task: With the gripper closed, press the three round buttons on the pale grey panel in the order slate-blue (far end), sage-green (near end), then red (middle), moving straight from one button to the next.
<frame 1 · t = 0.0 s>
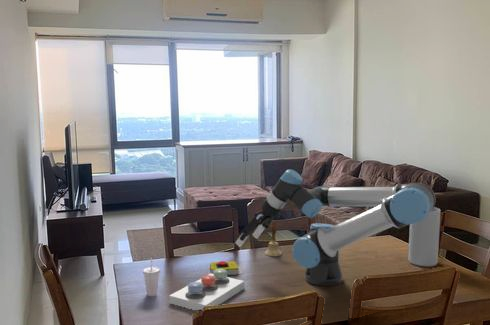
hand: (246, 240, 196), 15 cm above the table, tool tilted 35°, fingers open, 13 cm apart
emergency button: (224, 272, 204), on the table
hand bell: (273, 254, 228), on the table
slate-blue button: (195, 287, 171), point 6 cm above the table, slide at 0.0 cm
smoothie: (152, 294, 180), on the table
cylinder vase: (422, 262, 216), on the table
button panel: (208, 295, 178), on the table
sage-green button: (220, 274, 185), point 6 cm above the table, slide at 0.0 cm
red button: (208, 280, 178), point 6 cm above the table, slide at 0.0 cm
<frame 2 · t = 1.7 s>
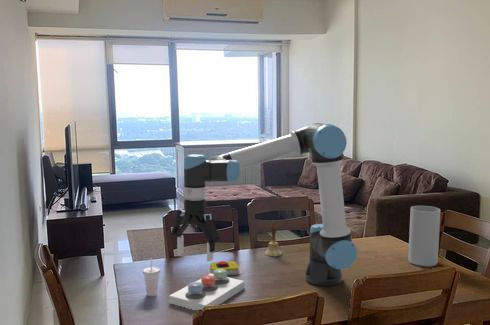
hand: (194, 257, 170), 17 cm above the table, tool pointing down, fingers open, 12 cm apart
nothing on the table moved.
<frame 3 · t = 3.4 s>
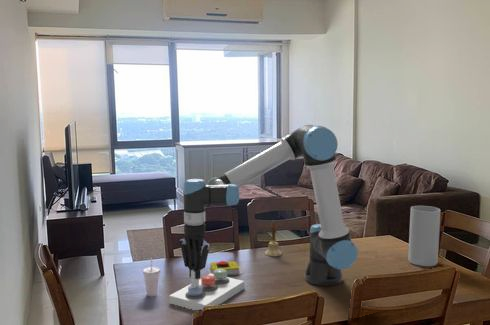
hand: (194, 286, 171), 6 cm above the table, tool pointing down, fingers closed
slate-blue button: (195, 290, 171), point 5 cm above the table, slide at 1.0 cm, touching gripper
everything else where it was.
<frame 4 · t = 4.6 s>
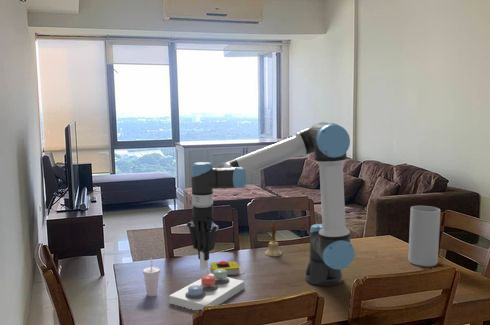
hand: (203, 268, 174), 12 cm above the table, tool pointing down, fingers closed
slate-blue button: (195, 290, 171), point 5 cm above the table, slide at 1.2 cm
everything else where it was.
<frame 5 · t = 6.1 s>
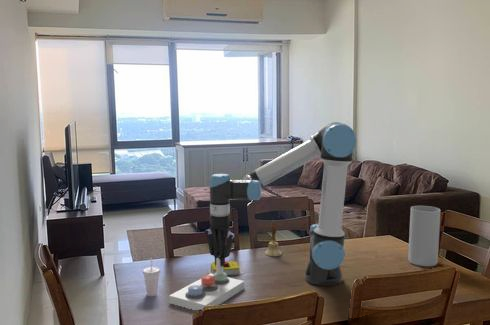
hand: (219, 273, 185), 6 cm above the table, tool pointing down, fingers closed
sage-green button: (220, 276, 185), point 5 cm above the table, slide at 1.2 cm, touching gripper
everything else where it was.
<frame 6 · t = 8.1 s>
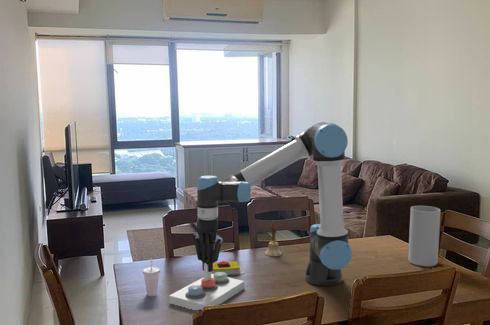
hand: (207, 279, 178), 6 cm above the table, tool pointing down, fingers closed
sage-green button: (220, 277, 185), point 5 cm above the table, slide at 1.2 cm
red button: (208, 282, 178), point 5 cm above the table, slide at 0.9 cm, touching gripper
everything else where it was.
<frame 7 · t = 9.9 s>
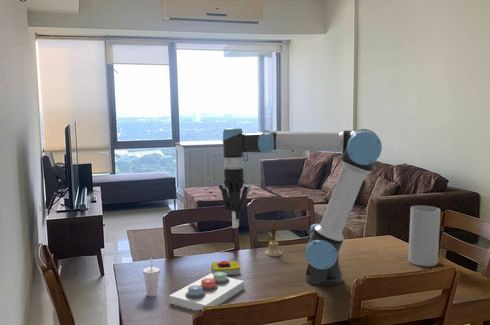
hand: (235, 227, 187), 23 cm above the table, tool pointing down, fingers closed
red button: (208, 283, 178), point 5 cm above the table, slide at 1.2 cm
everything else where it was.
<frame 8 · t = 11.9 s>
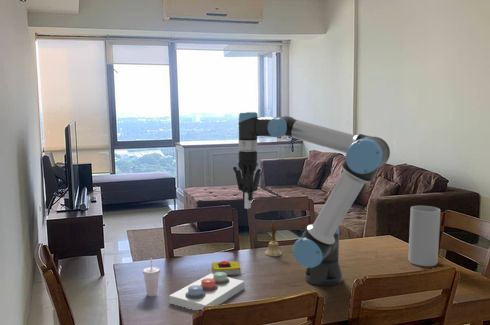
hand: (247, 207, 194), 29 cm above the table, tool pointing down, fingers closed
nothing on the table moved.
at the end: slate-blue button slide at 1.2 cm; sage-green button slide at 1.2 cm; red button slide at 1.2 cm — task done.
